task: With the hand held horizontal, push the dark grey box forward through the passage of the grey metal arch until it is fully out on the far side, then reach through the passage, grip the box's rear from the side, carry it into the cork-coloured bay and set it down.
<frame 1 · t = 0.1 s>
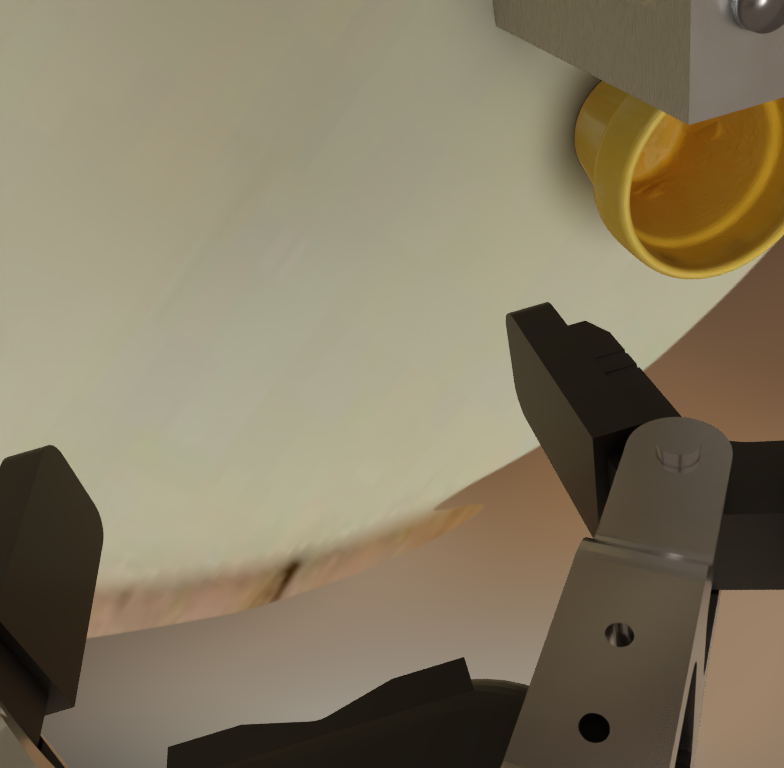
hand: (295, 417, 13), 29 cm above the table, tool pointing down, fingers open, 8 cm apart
plant pot: (628, 122, 42), on the table
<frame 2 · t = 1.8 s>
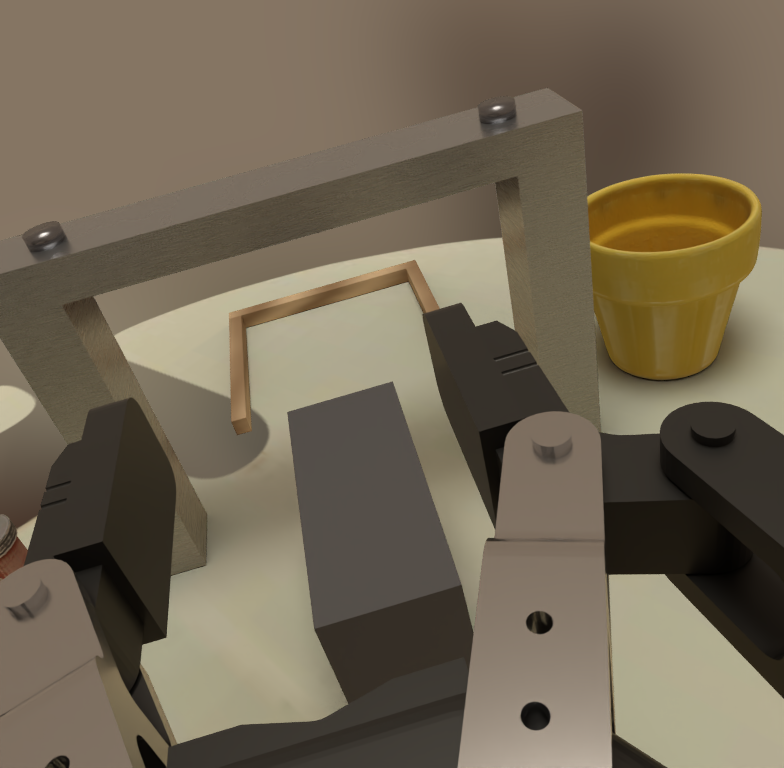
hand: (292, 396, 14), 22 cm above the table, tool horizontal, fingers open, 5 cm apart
plant pot: (660, 351, 48), on the table
bay: (338, 348, 56), on the table
grey metal arch: (373, 489, 43), on the table
dark grey box: (409, 633, 35), on the table
lighter: (9, 640, 40), on the table
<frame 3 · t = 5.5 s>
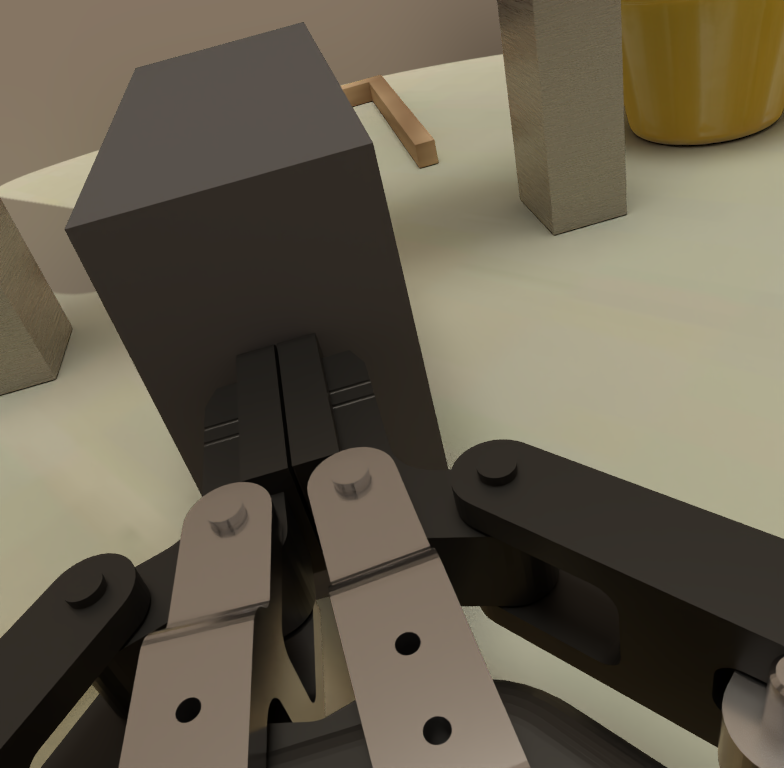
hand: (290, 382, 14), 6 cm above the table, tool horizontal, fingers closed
plant pot: (701, 123, 35), on the table
bay: (277, 162, 43), on the table
grey metal arch: (302, 283, 30), on the table
dark grey box: (334, 430, 22), on the table, touching gripper
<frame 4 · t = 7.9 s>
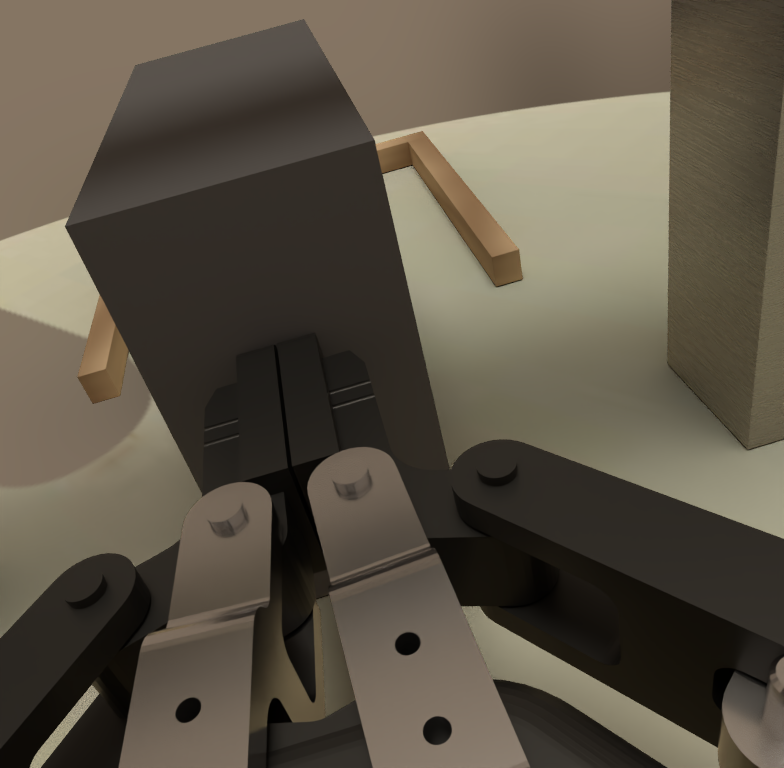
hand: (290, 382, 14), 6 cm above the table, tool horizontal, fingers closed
bay: (293, 259, 32), on the table
grey metal arch: (345, 510, 20), on the table
dark grey box: (334, 429, 22), on the table, touching gripper
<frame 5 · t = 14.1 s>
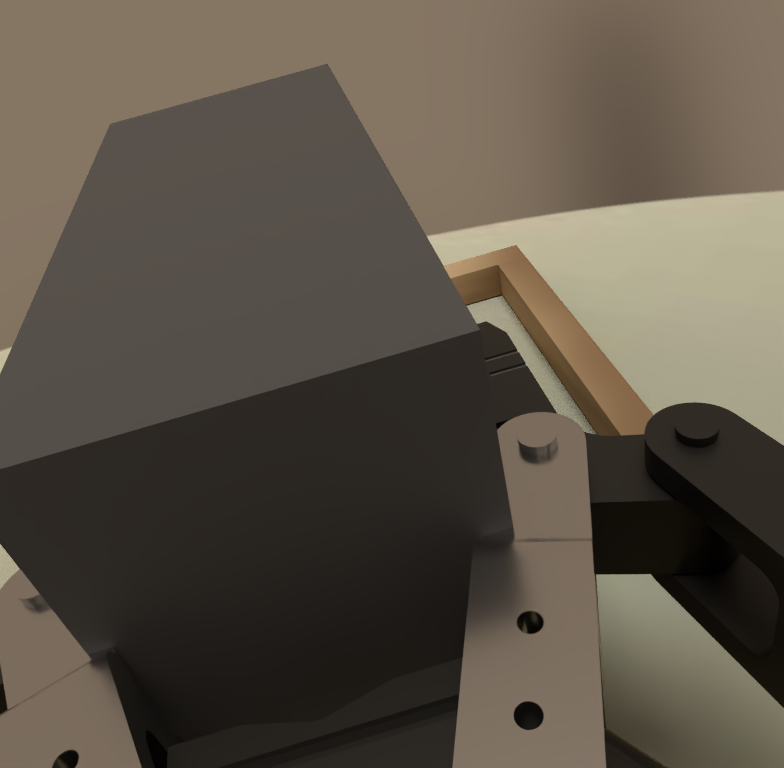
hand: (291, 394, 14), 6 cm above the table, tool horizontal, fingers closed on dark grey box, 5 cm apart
bay: (339, 479, 21), on the table
dark grey box: (365, 583, 18), on the table, touching gripper
when the fingers open (6 cm above the table, at t = 17.0 s): dark grey box stays where it is, on the table.
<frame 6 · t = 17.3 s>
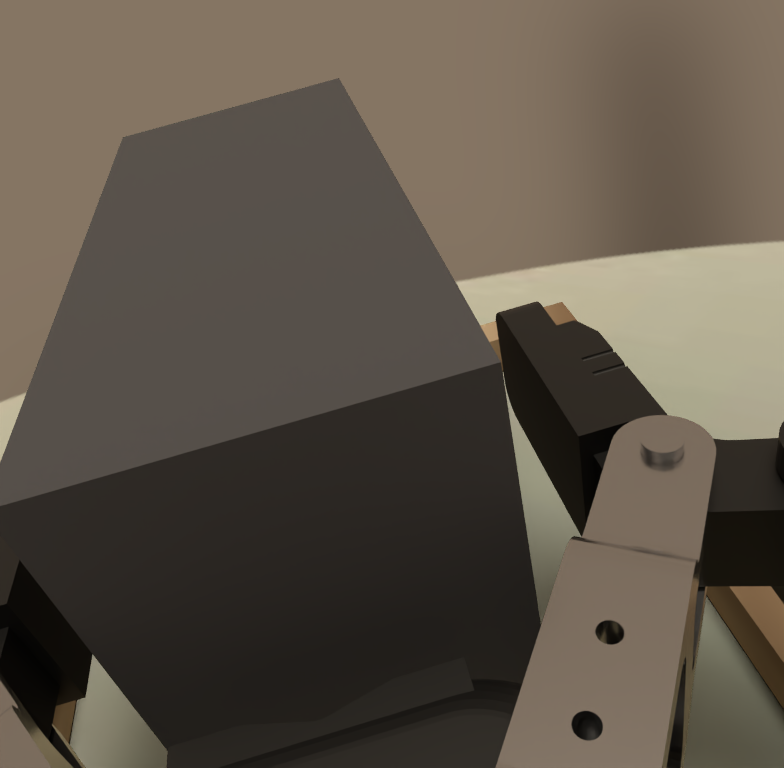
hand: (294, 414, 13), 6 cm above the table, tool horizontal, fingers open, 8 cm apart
bay: (368, 598, 17), on the table
dark grey box: (374, 594, 18), on the table
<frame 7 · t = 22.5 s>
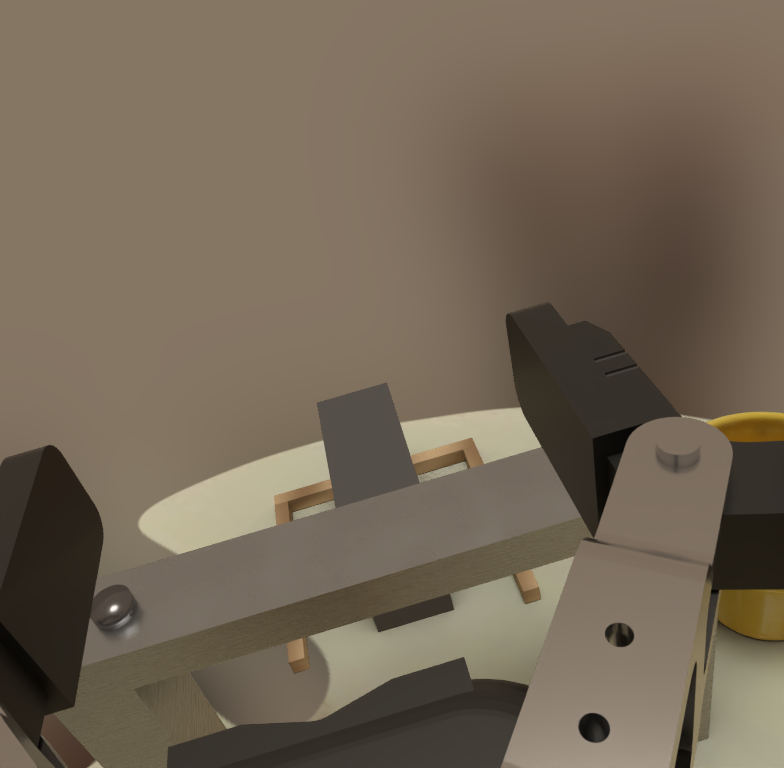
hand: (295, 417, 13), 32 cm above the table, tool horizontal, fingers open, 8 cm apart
plant pot: (756, 593, 44), on the table
bay: (396, 552, 52), on the table
dark grey box: (398, 551, 52), on the table
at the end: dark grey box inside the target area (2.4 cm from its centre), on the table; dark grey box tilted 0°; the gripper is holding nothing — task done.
